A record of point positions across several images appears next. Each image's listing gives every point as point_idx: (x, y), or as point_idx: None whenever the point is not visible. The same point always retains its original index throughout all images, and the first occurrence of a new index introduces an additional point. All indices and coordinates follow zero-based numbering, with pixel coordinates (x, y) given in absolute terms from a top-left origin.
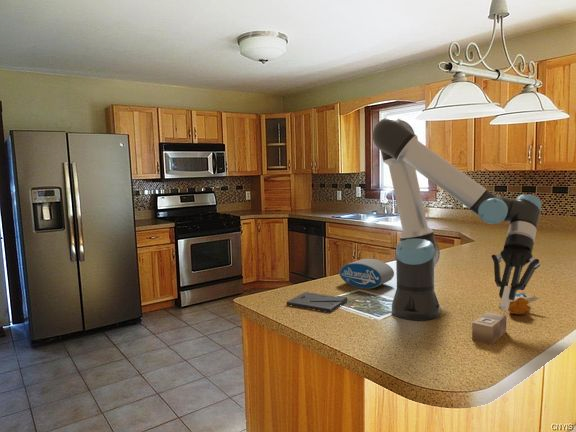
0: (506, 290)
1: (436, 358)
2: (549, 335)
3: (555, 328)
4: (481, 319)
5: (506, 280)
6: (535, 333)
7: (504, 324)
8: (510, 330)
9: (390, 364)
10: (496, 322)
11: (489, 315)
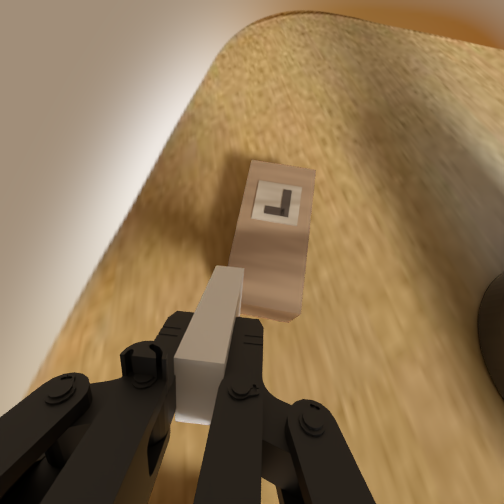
0: (210, 330)
1: (333, 87)
2: (86, 352)
3: None
4: (296, 203)
5: (208, 434)
6: None
7: None
8: None
9: (388, 43)
10: (244, 203)
11: (282, 266)
